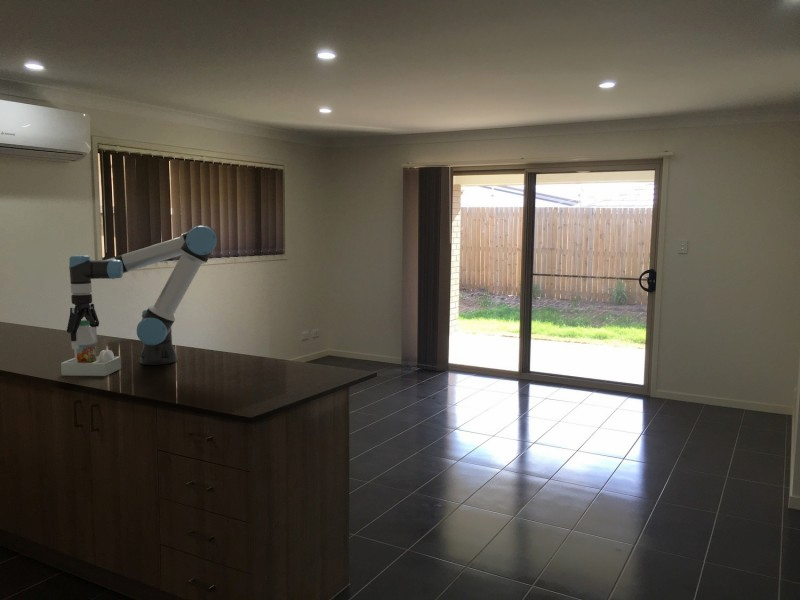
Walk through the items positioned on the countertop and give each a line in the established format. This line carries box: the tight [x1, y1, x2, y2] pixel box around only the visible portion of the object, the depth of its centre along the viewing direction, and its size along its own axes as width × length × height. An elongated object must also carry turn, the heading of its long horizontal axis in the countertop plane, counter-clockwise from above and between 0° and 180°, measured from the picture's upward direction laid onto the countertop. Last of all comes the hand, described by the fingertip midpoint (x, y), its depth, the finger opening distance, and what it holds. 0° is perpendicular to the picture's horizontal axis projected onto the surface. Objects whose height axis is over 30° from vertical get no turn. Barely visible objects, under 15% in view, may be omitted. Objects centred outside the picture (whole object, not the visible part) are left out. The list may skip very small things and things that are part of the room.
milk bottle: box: [73, 319, 97, 363], centre depth 264 cm, size 8×8×20 cm
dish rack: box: [60, 349, 122, 377], centre depth 265 cm, size 13×18×9 cm
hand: (84, 345), depth 264 cm, fingers open, 13 cm apart
